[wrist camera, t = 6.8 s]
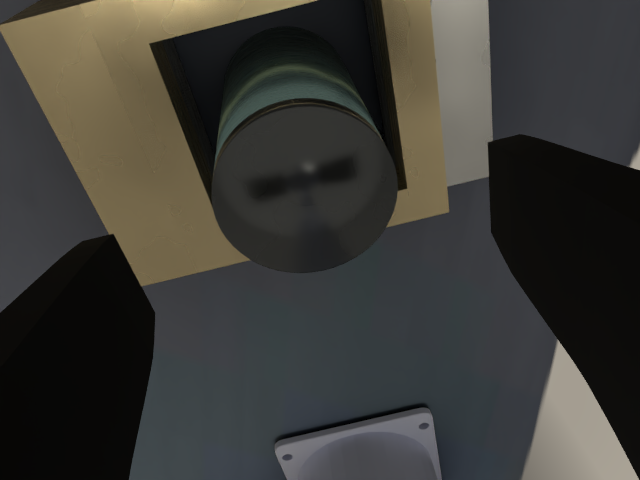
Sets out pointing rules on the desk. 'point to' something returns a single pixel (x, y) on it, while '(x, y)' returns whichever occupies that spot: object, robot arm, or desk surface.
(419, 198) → the upper end link
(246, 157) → the teal cylinder
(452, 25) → the lower end link
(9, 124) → the desk surface
